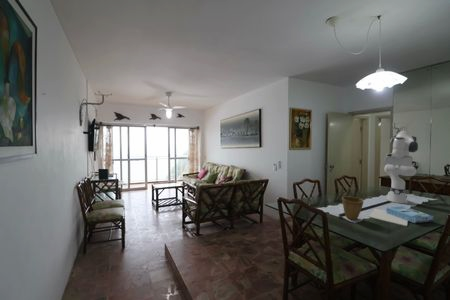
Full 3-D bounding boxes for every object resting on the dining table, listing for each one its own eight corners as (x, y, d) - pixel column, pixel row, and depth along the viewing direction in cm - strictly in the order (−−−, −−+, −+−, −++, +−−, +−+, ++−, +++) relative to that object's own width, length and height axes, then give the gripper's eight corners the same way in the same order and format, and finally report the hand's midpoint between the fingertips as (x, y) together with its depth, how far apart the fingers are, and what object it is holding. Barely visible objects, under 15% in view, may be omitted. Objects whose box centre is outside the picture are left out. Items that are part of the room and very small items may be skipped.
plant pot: (342, 213, 184) (344, 195, 182) (363, 218, 174) (364, 199, 173) (339, 218, 172) (340, 199, 171) (360, 223, 163) (362, 203, 161)
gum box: (385, 212, 187) (415, 223, 165) (386, 206, 186) (415, 217, 164) (402, 211, 192) (432, 222, 170) (403, 205, 191) (433, 215, 169)
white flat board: (374, 209, 197) (375, 208, 197) (408, 216, 181) (409, 215, 181) (369, 217, 177) (369, 216, 177) (406, 226, 160) (406, 225, 160)
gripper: (413, 156, 189) (411, 171, 190) (384, 153, 203) (383, 168, 204) (413, 156, 184) (411, 172, 186) (383, 154, 198) (382, 168, 200)
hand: (396, 170), depth 195 cm, fingers closed
